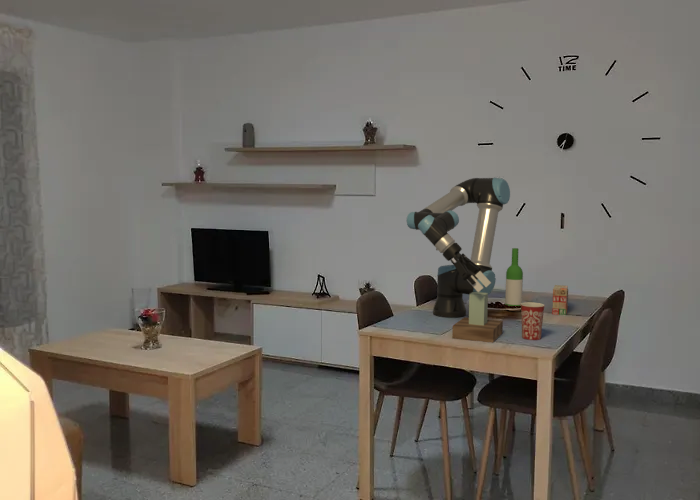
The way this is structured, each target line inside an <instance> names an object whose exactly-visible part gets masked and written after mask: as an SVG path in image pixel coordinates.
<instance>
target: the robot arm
mask: <svg viewBox="0 0 700 500" xmlns="http://www.w3.org/2000/svg"><path fill="white" fill-rule="evenodd" d="M510 198H511V190H510V185H509V183H508V182H507V180H505V179H504V178H500V177H473V178H470V179H469V178H468V179H466V180H464V181H462V182H460V183H458V184H456V185H455V186H453V187H452V188H451V189H450V190H449V192H448V193H446V194H445V195H443V196H442V197H440V198H438V199H437V200H435V201H433V202H432V203H431V204H429V205H428V206H426V207H425V208H423V209H422V210H420V211H410V212H409V213H408V214H407V217H406V225H407V227H408V228H409V229H411V230H415V231H417V230H418V231H420V232H421V234H422V235H424V237H425V238H426V239H427V240H428V241H429V242H430V243H431V244H432V246H434V247H435V250H436V251H439V253H441V254H442V256H443V258H445V260H446V261H448V262H449V261H450V262H451V263H452V264H445V265H441V266H439V267H438V269H437V276H436V277H437V284H436V285H437V289H436V291H437V293H436V296H437V297H436V300H435V303H434V305H433V309H432V314H433V315H435V316H438V317H442V318H444V317H445V318H460V317H465V316H467V309H466V306H465V305H466V304H465V302H464V297H463V296H464V295H469V294H471V293H472V292H481V293H488V295H490V294H491V293H492V292H493V291H494V288H495V285H496V281H497V279H496V274H495V272H494V271H493V266H492V265H491V264H490V263H491V258H492V251H493V246H494V240H495V235H496V234H495V233H496V228H497V222H498V215H499V212H501V211H502V210H503V208H504V205H506V204H508V203H509V202H510ZM466 204H467V205H468V204H476V206H477V208H478V215H477V222H476V227H475V232H474V239H473V242H472V244H473V245H472V248H471V254H470V255H471V256H470V258H468V256H467V255H466V254H464V253H460V252H461V251H462V250H463V248H462V246H460V245H459V244H458V243H457V242H456V240H455V239H454V238H453V237H452V236H451V235H450V234H449V232H450V231H451V230H453V229H455V228H456V227H458V225H459V222H460V218H459V216H458V213H457V212H456V211H454V210H455V209H457V208H458V207H462V206H465V205H466ZM463 294H464V295H463Z"/></svg>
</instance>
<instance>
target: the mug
mask: <svg viewBox="0 0 700 500" xmlns="http://www.w3.org/2000/svg"><path fill="white" fill-rule="evenodd" d="M544 311H545V304H543V303H541V302H540V303H539V302H533V301H532V302H531V301H528V302H522V303H521V311H520V313H521V337H522V339H524V340H528V341H540V340H541V338H542V330H543V321H544Z"/></svg>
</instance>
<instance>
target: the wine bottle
mask: <svg viewBox="0 0 700 500" xmlns="http://www.w3.org/2000/svg"><path fill="white" fill-rule="evenodd" d="M523 275H524V272H523V269H522V267H521V266H519V248H516V247H513V248H511V264H510V266H509V267H508V268H507V269H506V272H505V295H504V296H505V297H504V298H505V300H504V306H505V305H508V306H520V305H521V303H523V285H524V284H523V280H524V276H523Z"/></svg>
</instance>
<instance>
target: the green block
mask: <svg viewBox="0 0 700 500" xmlns="http://www.w3.org/2000/svg"><path fill="white" fill-rule="evenodd" d="M468 296H469V299H468V300H469V301H468V302H469V303H468V318H469V324H474V325H485V324H486V323H487V320H488V312H489V311H488V304H489V301H488V300H489V294H488V293H481V292H472V293H471V294H468Z"/></svg>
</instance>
